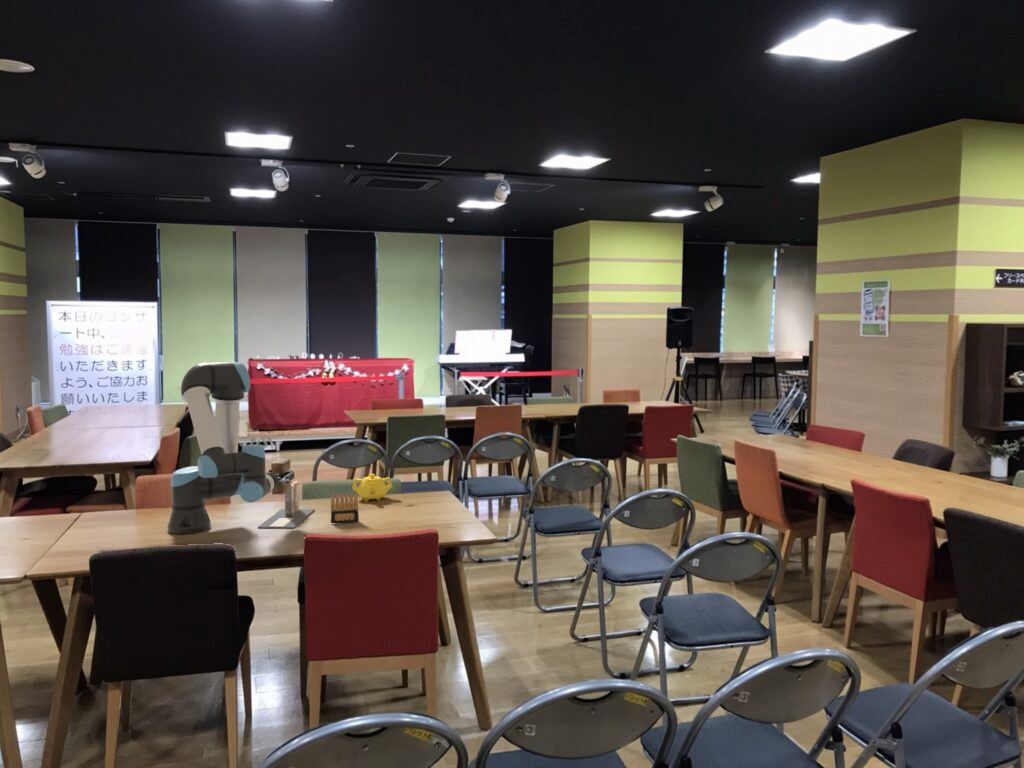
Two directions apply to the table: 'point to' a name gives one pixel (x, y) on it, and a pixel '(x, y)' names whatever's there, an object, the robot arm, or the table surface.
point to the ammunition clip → (344, 509)
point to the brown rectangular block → (279, 468)
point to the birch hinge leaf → (292, 500)
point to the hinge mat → (286, 519)
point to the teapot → (372, 487)
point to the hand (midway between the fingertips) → (285, 471)
